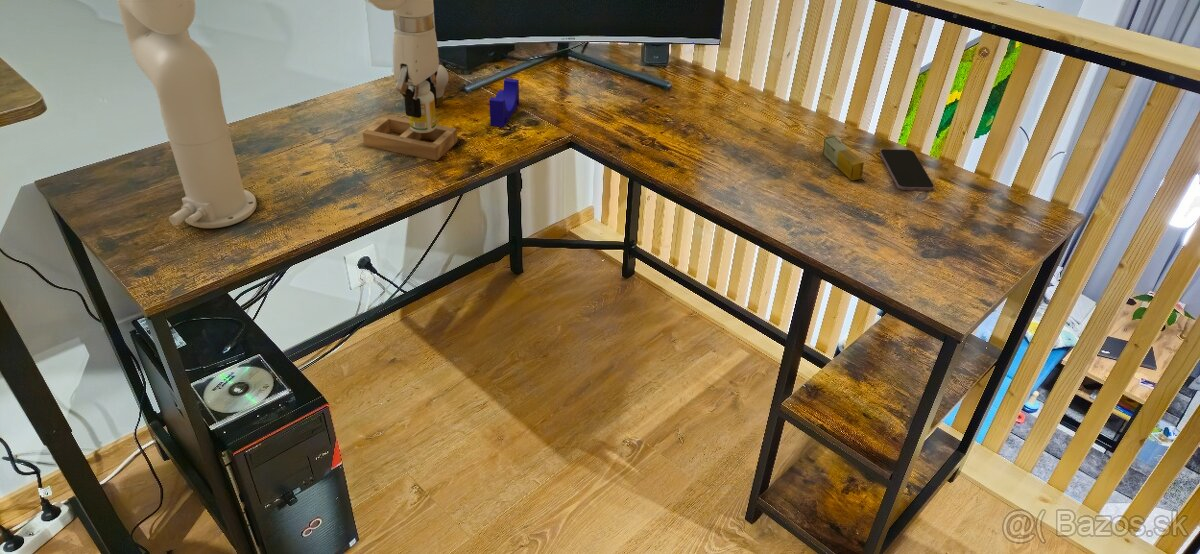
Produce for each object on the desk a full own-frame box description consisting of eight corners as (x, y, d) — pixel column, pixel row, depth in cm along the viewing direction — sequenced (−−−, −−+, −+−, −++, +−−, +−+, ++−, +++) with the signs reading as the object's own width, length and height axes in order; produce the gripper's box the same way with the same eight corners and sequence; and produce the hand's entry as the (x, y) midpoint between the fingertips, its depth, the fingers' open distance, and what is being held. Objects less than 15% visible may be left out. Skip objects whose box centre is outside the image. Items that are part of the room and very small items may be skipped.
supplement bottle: (417, 136, 168) (413, 92, 163) (405, 125, 172) (400, 82, 166) (441, 129, 171) (437, 85, 165) (429, 119, 174) (424, 75, 169)
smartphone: (899, 187, 166) (878, 148, 177) (897, 191, 166) (877, 153, 178) (935, 187, 166) (913, 149, 178) (934, 192, 167) (911, 154, 178)
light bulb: (456, 105, 191) (453, 63, 185) (438, 114, 187) (434, 71, 181) (436, 98, 193) (432, 56, 187) (418, 107, 189) (414, 65, 183)
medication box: (821, 154, 177) (823, 137, 175) (833, 152, 178) (835, 135, 175) (850, 181, 168) (852, 163, 166) (863, 178, 168) (865, 161, 166)
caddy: (436, 161, 170) (435, 147, 168) (364, 145, 174) (362, 132, 172) (458, 141, 177) (457, 128, 175) (387, 127, 181) (386, 114, 179)
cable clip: (500, 102, 193) (499, 77, 189) (519, 104, 192) (518, 79, 189) (483, 124, 183) (482, 99, 180) (503, 127, 183) (502, 101, 179)
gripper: (419, 5, 166) (426, 91, 177) (372, 32, 153) (382, 123, 163) (453, 10, 164) (458, 97, 175) (408, 39, 151) (416, 131, 161)
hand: (421, 109), depth 169 cm, fingers closed on supplement bottle, 5 cm apart
